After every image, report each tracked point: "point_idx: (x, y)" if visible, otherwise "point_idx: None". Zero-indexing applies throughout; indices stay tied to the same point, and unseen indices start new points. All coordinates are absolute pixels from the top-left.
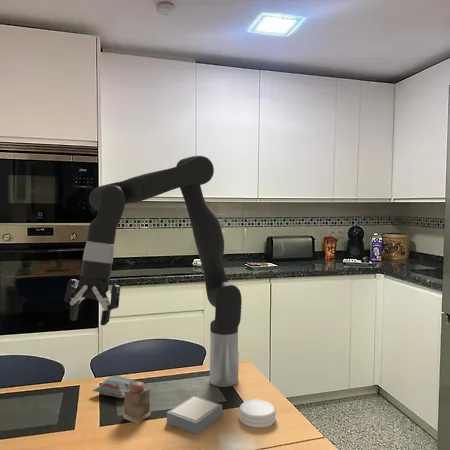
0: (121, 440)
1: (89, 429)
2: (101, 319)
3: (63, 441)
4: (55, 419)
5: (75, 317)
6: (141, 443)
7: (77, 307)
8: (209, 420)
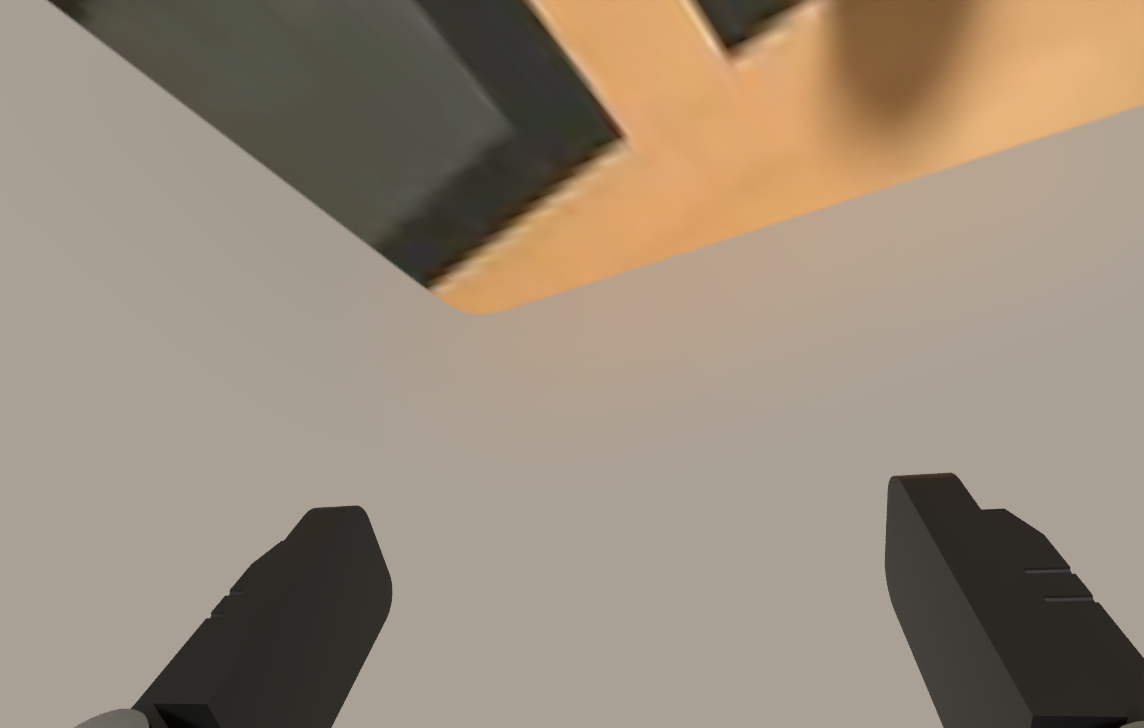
0: (912, 136)
1: (695, 110)
2: (928, 668)
3: (647, 235)
4: (473, 97)
5: (355, 569)
6: (1037, 120)
7: (255, 717)
8: None
